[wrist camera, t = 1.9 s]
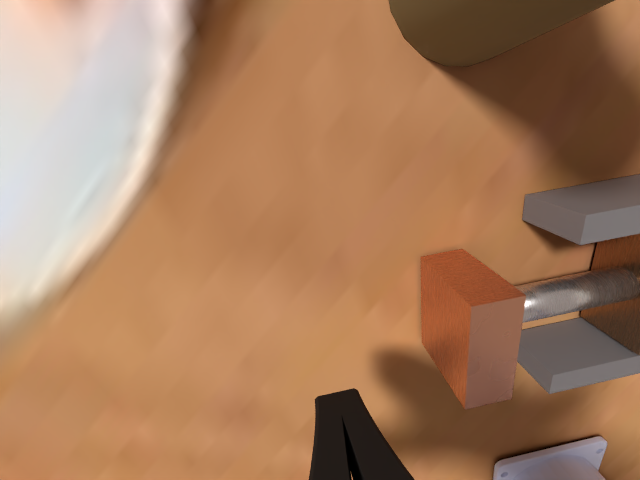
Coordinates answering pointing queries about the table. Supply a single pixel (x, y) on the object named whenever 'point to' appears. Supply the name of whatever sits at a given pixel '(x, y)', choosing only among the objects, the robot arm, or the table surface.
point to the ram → (518, 313)
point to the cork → (480, 25)
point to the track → (578, 334)
